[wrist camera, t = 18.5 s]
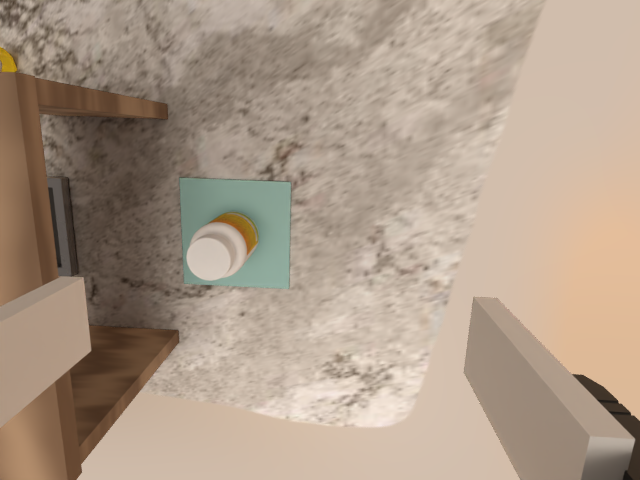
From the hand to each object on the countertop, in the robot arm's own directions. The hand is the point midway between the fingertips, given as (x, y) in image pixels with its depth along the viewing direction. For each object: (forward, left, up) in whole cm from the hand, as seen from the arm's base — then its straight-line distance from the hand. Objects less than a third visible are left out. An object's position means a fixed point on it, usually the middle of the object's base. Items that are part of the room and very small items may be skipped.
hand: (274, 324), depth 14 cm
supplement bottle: (+9, -6, -32) cm, 33 cm away
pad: (+9, -6, -32) cm, 33 cm away
